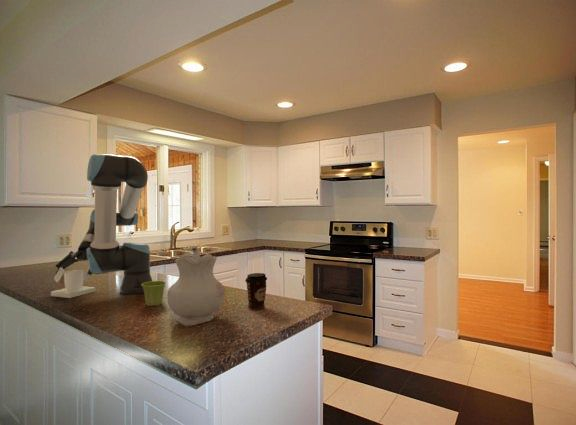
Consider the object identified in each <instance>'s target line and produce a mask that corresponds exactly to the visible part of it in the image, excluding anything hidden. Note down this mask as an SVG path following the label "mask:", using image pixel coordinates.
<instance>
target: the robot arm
mask: <svg viewBox="0 0 576 425" xmlns="http://www.w3.org/2000/svg"><path fill="white" fill-rule="evenodd" d="M86 170H87V171H86V172H87V173H86V174H87V175H86V179H87V181H88V182H90V185H91V186H92V188H94V209H92V211H91V213H90V215H89V225H88V226H89V227H88V230H87V232H86V233H85V235H84V237H83V239H82V240H81V242H80V244H79V245H78V247H77V251H76V252H74V251H73V250H71V251H70V252H69V253H68V254H67V255H66V256H65V257H64V258H62V259H61V260H60V261H59V262H57V263H56V264H55V267H56V268H57V270H56V271H55V276H54V278H53V280H54V281H55V283H59V281H60V279H61V278H62V276H63V275H64V272H65V270H66V269H67V268H69V267H70V266H72V265H73V264H75V263H77V262H82V261H83V262H85V261H87V263H88V267H87V269H86V271H85V272H84V274H83V282H85V283H86V282H88V280H89V278H90V276H91V275H92V274H103V273H111V272H112V273H113V272H119V271H120V272H121V271H123V277H122V282H121V284H120V287H119V292H120V293H121V294H124V295H134V294H135V295H137V294H144V289H143V286H142V284H143V283H146V282H151V281H153V277H152V276H151V257H150V256H151V252H150V251H151V250H150V246H149V245H148V243H141V242H123V243H122V245H120V242H118V240H117V227H121V226H122V227H123V226H124V227H126V226H127V227H131V226H136V225H137V224H138V221H139V216H138V212H137V208H138V206H139V201H140V198H141V196H142V192H143V189H144V188H145V187H146V186H147V183H148V180H149V176H148V172H147V168H146V167H145V165H144V164H143V163H142V162H141V160H139V159H137V158H136V157H133V156H129V155H116V154H107V153H94V154H92V155H90V158H89V161H88V165H87V169H86ZM122 183H125V186H124V192H123V195H122V199H121V203H120V208H119V211H117V210H118V209H117V205H118V201H117V200H118V190H119V188H121V187H122Z"/></svg>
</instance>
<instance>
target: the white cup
mask: <svg viewBox="0 0 576 425" xmlns="http://www.w3.org/2000/svg"><path fill="white" fill-rule="evenodd" d="M84 275H85V272H84V270H83V269H75V270H67V271H64V273H63V278H64V289H65V290H66V293H73V292H77V291H81V290H83V286H84V280H83V277H84Z"/></svg>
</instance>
